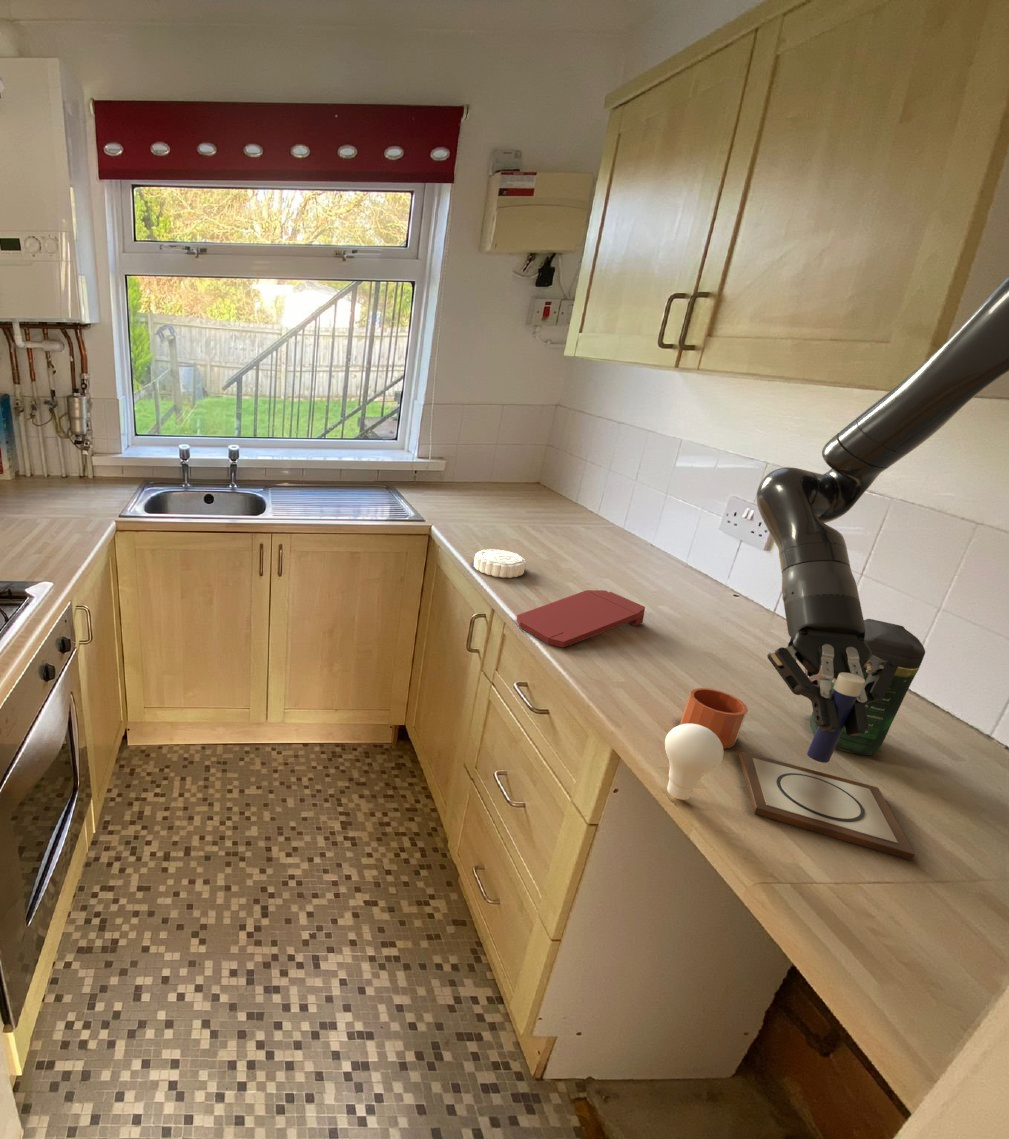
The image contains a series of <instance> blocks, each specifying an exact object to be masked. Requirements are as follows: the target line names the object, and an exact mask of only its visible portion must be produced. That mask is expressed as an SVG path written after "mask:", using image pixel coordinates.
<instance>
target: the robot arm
mask: <svg viewBox="0 0 1009 1139" xmlns="http://www.w3.org/2000/svg"><path fill="white" fill-rule="evenodd" d="M1008 372H1009V275H1008V276H1007V277H1006V278H1005V279H1004V280H1003V281H1002V282H1001V283H1000V284H999V285H998V286H997V288H995V289H994V291H993V292H992V293H990V295H989V296H988V297H987V298H986V299H985V300H984V301H983V302H982V303H981V305H979V307H978V308H977V309H976V310H975V311H974V312H973V313H972V314H971V315H970V316H969V317H968V318H967V320H966V321H965V322H964V323H963V324H962V325H961V326H960V327H959V328H958V329H957V330H956V331H955V332H954V333H953V334H952V335H951V336H950V337H949V338H948V339H947V340H946V341H945V342H944V343H943V344H942V345H940V346H939V348H938V349H937V350H935V352H934V353H932V355H930V356H929V357H928V358H927V359H926V360H925V361H924V362H923V363H921V365H919V366H918V367H917V368H916V369H915V370H914V371H912V372H911V373H910V374H909V375H907V376H906V377H905V378H904V379H903V380H902V381H901V382H899V383H898V384H897V385H896V386H895V387H893V388H892V389H891V390H890V391H888V392H887V393H886V394H884V395H883V396H882V397H881V398H880V399H878V400H877V401H876V402H875V403H874V404H872V405H870V407H868V408H867V409H866V410H864V411H863V412H862V413H861V414H860V415H858V416H857V417H856V418H854V420H852V421H851V422H850V423H848V424H847V425H846V426H845V427H844V428H842V429H841V430H840V431H839V432H837V433H836V434H835V435H833V437H831V439H829V440H828V441H827V442H826V443H825V444H824V446H823V448H822V450H821V456H822V459H823V461H824V463H826V465H827V466H828V467H830V469H829V470H828V471H827V472H825V473H820V472H819V473H818V472H814V471H809V470H806V469H802V468H799V467H798V468H797V467H790V466H789V467H787V466H785V467H780V468H777V469H774V470H772V471H770V472H769V473H768V474H766V475H765V477H763V479H762V480H761V481H760V483H759V486H758V488H757V491H756V506H757V509H758V512H759V515H760V517H761V519H762V521H763V524H764V525H765V527H766V529H767V531H768V533H769V535H770V537H771V539H772V541H773V542H774V544H775V545H776V547H777V550H778V558H779V564H780V572H781V595H782V596H781V597H782V602H783V607H784V613H785V614H784V615H785V620H786V627H787V634H788V636H789V637H790V639H789V642H788V643H787V647H782V646H781V647H778V648H777V649H775V650H773V651H771V652H768V653H767V655H766V656H767V660H769V662H770V663H771V665H772V666H773V667H774V669H775V670H776V672H777V673H778V674H779V676H780V677H781V679H782V680H783V681H784V683H785V685H786V686H787V687H788V688H789V690H790V691H791V693H792V694H794V695H796V696H803V697H805V698H807V699H808V700H809V701H810V703H811V705H812V712H813V713H814V720H815V723H816V725H817V726H820V730H821V731H823V732H833V731H837V730H838V721H837V715H836V709H835V703H834V700H830V697H831V696H832V686H831V682H832V680H833V681H834V684H835V682H836V680H837V678H838V675H839V673H842V672H845V673H851V674H854V675H857V676H860V677H861V678H863V679H864V676H863V673H862V670H861V669H862V667H863V666H864V665H865V664H866V665H867V670H866V672H867V673H868V674H869V676H868V678H867V680H866V682H865V684H864V686H863V688H862V690H861V692H860V695H859V696H857V699H856V701H855V703H854V706H853V708H852V710H851V712H850V715H849V717H848V719H847V722H846V724H845V728H846V733H847V734H848V735H852V736H858V735H862V734H864V733H865V730H868V727H869V724H868V719H867V714H866V708H865V704H867V703H870V702H873V701H877V700H881V699H883V697H884V695H885V693H886V691H887V689H888V687H889V685H890V683H891V681H892V679H893V677H894V674H895V672H896V670H897V668H898V663H897V662H896V661H894V660H888V661H884V660H882V659H880V658H878V657H876V656H874V655H872V652H871V649H870V648H869V647H868V646H867V644H866V643H865V632H866V630H865V624H864V620H865V619H864V614H863V610H862V605H861V601H860V600H861V599H860V595H859V590H858V584H857V581H856V579H855V577H854V574H853V572H852V571H853V570H852V568H851V563H850V562H851V561H850V557H849V552H848V548H847V543H846V540H845V538H844V536H843V534H842V533H841V532H840V531H839V530H838V529H835V528H834V527H832V526H830V525H828V524H829V523H831V522H833V521H835V520H838V519H839V518H841V517H842V516H845V515H846V514H847V513H848V512H849V511H850V510H851V509H852V508H853V507H854V505H856V504H857V502H858V501H859V500H860V498H861V497H862V496H863V495H864V494H865V493H866V491H868V489H869V488H870V487H871V486H872V484H873V483H874V482H875V481H876V479H878V477H879V476H880V474H881V473H883V472H884V471H886V470H888V469H889V468H890V467H892V466H893V465H894V464H896V463H897V462H898V461H900V460H902V459H903V458H905V456H907V455H908V454H910V453H911V452H913V450H915V449H916V448H918V447H919V446H920V445H922V444H923V443H924V442H926V441H927V440H928V439H929V438H931V437H932V436H933V435H934V434H935V433H937V432H938V431H939V430H940V429H942V427H944V426H945V425H946V424H947V423H948V422H949V421H950V420H951V419H952V418H953V417H954V416H955V415H956V414H957V413H958V412H959V411H960V410H962V408H963V407H964V406H965V405H967V404H968V403H969V402H970V401H971V400H972V399H973V398H975V397H976V396H978V394H979V393H981V392H982V391H983V390H984V389H986V388H988V386H990V385H991V384H993V383H994V382H995V381H996V380H998V379H999V378H1001V377H1002V376H1004V375H1005V374H1007V373H1008ZM826 523H828V524H826ZM799 664H801V666H803V667H804V670H803V669H802V667H801V666H800V665H799ZM864 680H865V679H864Z"/></svg>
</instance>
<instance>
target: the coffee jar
mask: <svg viewBox="0 0 1009 1139" xmlns="http://www.w3.org/2000/svg"><path fill="white" fill-rule="evenodd" d="M864 624H865V630H866V632H865V643H866V644H867V646H868V647H869V648H870V649H871V652H872V655H874V656H876V657H878V658H880V659H882V660H884V661H888V660H894V661H896V662H897V663H898V668H897V670H896V672H895V674H894V677H893V679H892V681H891V683H890V685H889V687H888V689H887V691H886V693H885V695H884V697H883V699H881V700H877V701H873V702H870V703H867V704H865V708H866V714H867V719H868V724H869V727H868V730H865V733H864V734H862V735H858V736H852V735H848V734H847V733H846V728H845V726H844V728H843V731H842V733H841V735H840V737H839V740H838V742H837V744H836V747H835V749H838V750H840V751H844V752H846V753H850V754H856V755H857V754H859V755H864V756H865V755H866V756H873V755H876V754H878V753H879V751H880V750H881V747H882V746H883V743H884V741H885V739H886V737H887V735H888V732H889V730H890V728H891V727H892V724H893V722H894V719H895V717H896V716H897V713H898V711H899V709H900V707H901V705H902V703H903V701H904V699H905V697H906V696H907V693H908V691H909V689H910V686H911V684H912V683H913V681H914V679H915V677H916V675H917V673H918V671H919V670H920V667H921V666H922V662H923V660H924V657H925V655H926V650H925V647H924V645H923V644H922V642H921V641H920V639H919V638H918V637H917V636H916V635H915V634H913V633H912V632H910V631H909V630H907V629H906V628H905V627H904V626H903V625H900V624H895V623H892V622H887V621H882V620H877V619H873V618H866V619H864ZM861 670H862V673H863V676H864V679H865V682H866V680H867V678H868V676H869V674H868V673H867V672H866V670H867V665H866V664H865V665H864V666H863V667H862V669H861ZM864 684H865V683H864ZM834 685H835V684H834V681H833V680H832V682H831V686H832V692H833V690H834V688H833V687H834ZM809 724H810V729H811V731H812V734H813V735H815V733H816V731H817V728H818V726H817V725H816V723H815V720H814V713H813V711H812V712H811V715H810V718H809Z"/></svg>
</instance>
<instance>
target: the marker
mask: <svg viewBox="0 0 1009 1139" xmlns="http://www.w3.org/2000/svg"><path fill="white" fill-rule="evenodd" d="M864 683H865V680H864V679H863V678H861V677H860V676H857V675H854V674H851V673H845V672H842V673H839V675H838V678H837V680H836V682H835V685H834V687H833V688H834V690H833V692H832V696H831V697H830V700H834V703H835V709H836V715H837V721H838V730H837V731H833V732H823V731H821V730H820V726H818V728H817V731H816V733H815V735H814V734H813V735H814V736H813V738H812V741H811V743H810V744H809V745H810V746H809V747H808V749H807V752H806V754H807V756H808V758H810V759H812V760H814V761H816V762H819V763H823V764H826V763H829V762H830V760H831V758H832V755H833V753H834V751H835V749H836V748H835V747H836V744H837V742H838V740H839V737H840V735H841V733H842V731H843V728H844V726H845V724H846V722H847V719H848V717H849V715H850V712H851V710H852V708H853V706H854V703H855V701H856V699H857V696H859V695H860V692H861V690H862V688H863V686H864Z"/></svg>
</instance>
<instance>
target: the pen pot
mask: <svg viewBox="0 0 1009 1139" xmlns="http://www.w3.org/2000/svg"><path fill="white" fill-rule="evenodd" d="M683 709H684V710H683V712H682V715H681V717H680V723H679V725H682V724H697V725H701V726H704V727H706V728H708V729H709V730H711V731H712V732H713V733H715V734H716V735H717V737H718V738H719V739H720V741H721V743H722V745H723V750H724V749H731V748H733V746H735V744H736V742H737V740H738V738H739V735H740V733H741V730H742V727H743V724H744V722H745V719H746V716H747V713H748V711H749V709H748V706H747V704H745V703H744V702H743V701H742V700H741V699H739V698H738V697H736V696H734V695H732V694H730V693H727V692H724V691H721V690H717V689H714V688H708V687H707V688H706V687H698V688H694V689H692V690H691V691H690V692H689V693H688V697H687V700H686V703H685V706H684V708H683Z"/></svg>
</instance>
